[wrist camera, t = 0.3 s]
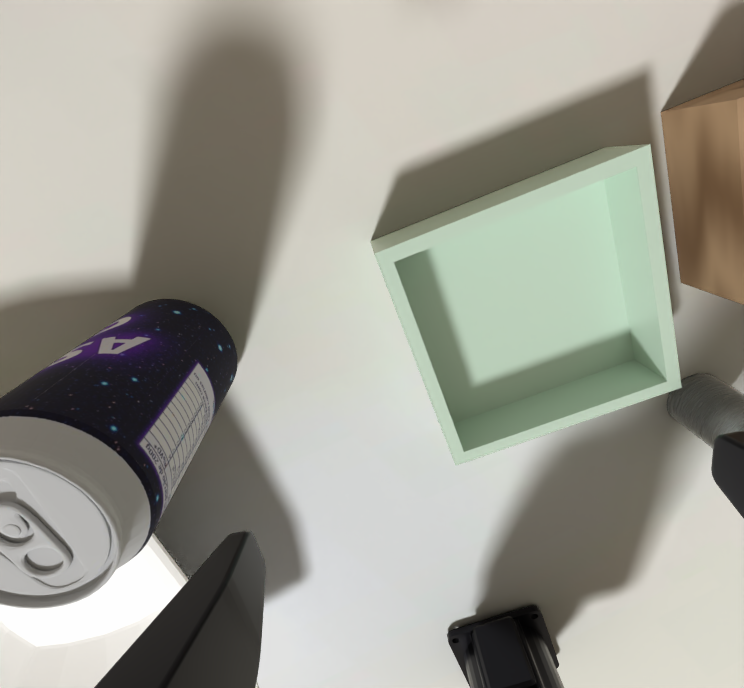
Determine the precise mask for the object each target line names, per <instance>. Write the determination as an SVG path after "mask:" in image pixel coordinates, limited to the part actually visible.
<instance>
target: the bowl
mask: <svg viewBox="0 0 744 688" xmlns="http://www.w3.org/2000/svg"><path fill="white" fill-rule="evenodd" d="M187 582H188V578H187V577H186V576H185V574H184V573H183V572H182V570H181V569H180V568H179V567H178V565H177V564H176V563H175V561H174V560H173V559H172V557H171V556H170V555H169V553H168V552H167V551H166V549H165V548H164V547H163V545H162V544H161V543H160V541H159V540H158V539H157V537H156V536H155V535H154V533H153V534H152V535H151V537H150V539H149V541H148V543H147V544H146V545H145V547H144V548H143V549H142V550H141V551H140V552H139V553H138V554H137V555H136V556H135V557H134V558H133V559H131V560H130V561H129V562H127V563H126V564H124V565H123V566H121V567H120V568H118V569H117V570H115V572H114V574H113V575H112V577H111V578H110V579H109V580H108V582H107V583H106V584H105V585H104V586H102V587H101V588H100V589H99V590H98V591H96V592H95V593H93V594H92V595H90V596H89V597H86V598H84V599H82V600H80V601H78V602H75V603H71V604H68V605H64V606H59V607H52V608H40V609H29V608H16V607H10V606H4V605H0V688H94V687H95V686H96V685H97V684H98V682H99V681H100V680H101V679H102V678H103V677H104V676H105V675H106V673H107V672H108V671H109V670H110V669H111V668H112V667H113V665H114V664H115V663H116V662H117V661H118V660H119V659H120V658H121V656H122V655H123V654H124V653H125V652H126V651H127V650H128V648H129V647H130V646H131V645H132V644H133V643H134V642H135V641H136V639H137V638H138V637H139V636H140V635H141V634H142V633H143V631H144V630H145V629H146V628H147V627H148V626H149V625H150V624H151V622H152V621H153V620H154V619H155V618H156V617H157V616H158V614H159V613H160V612H161V611H162V610H163V609H164V608H165V607H166V605H167V604H168V603H169V602H170V601H171V600H172V599H173V597H174V596H175V595H176V594H177V593H178V592H179V591H180V590H181V588H182V587H183V586H184V585H185V584H186V583H187ZM255 688H259V687H258V683H257V681H256V687H255Z"/></svg>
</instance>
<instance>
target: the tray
mask: <svg viewBox="0 0 744 688" xmlns="http://www.w3.org/2000/svg"><path fill="white" fill-rule="evenodd" d="M371 244H372V248H373V251H374V254H375V257H376V259H377V262H378V265H379V267H380V270H381V272H382V275H383V278H384V280H385V283H386V285H387V288H388V291H389V293H390V296H391V298H392V301H393V304H394V306H395V309H396V311H397V314H398V317H399V319H400V322H401V324H402V327H403V330H404V332H405V335H406V337H407V340H408V343H409V345H410V348H411V350H412V353H413V356H414V358H415V361H416V364H417V366H418V369H419V371H420V374H421V377H422V379H423V382H424V384H425V387H426V390H427V392H428V395H429V397H430V400H431V403H432V405H433V408H434V410H435V413H436V416H437V418H438V421H439V423H440V426H441V429H442V431H443V434H444V436H445V439H446V442H447V444H448V447H449V449H450V452H451V455H452V457H453V460H454V462H455V465H459V464H462V463H465V462H468V461H471V460H474V459H477V458H480V457H482V456H485V455H488V454H491V453H494V452H497V451H500V450H503V449H506V448H509V447H511V446H514V445H517V444H520V443H523V442H526V441H529V440H532V439H535V438H538V437H540V436H543V435H546V434H549V433H552V432H555V431H558V430H561V429H564V428H566V427H569V426H572V425H575V424H578V423H581V422H584V421H587V420H590V419H593V418H595V417H598V416H601V415H604V414H607V413H610V412H613V411H616V410H619V409H622V408H624V407H627V406H630V405H633V404H636V403H639V402H642V401H645V400H648V399H650V398H653V397H656V396H659V395H662V394H665V393H668V392H671V391H674V390H677V389H679V388H682V386H681V378H680V370H679V362H678V355H677V347H676V339H675V331H674V324H673V316H672V308H671V300H670V293H669V285H668V277H667V269H666V262H665V254H664V246H663V239H662V231H661V223H660V215H659V208H658V200H657V192H656V184H655V177H654V169H653V161H652V153H651V146H650V144H644V145H630V146H615V147H605V148H602V149H600V150H597V151H595V152H592V153H590V154H587V155H585V156H582V157H580V158H577V159H575V160H572V161H570V162H567V163H565V164H562V165H560V166H557V167H555V168H552V169H550V170H547V171H545V172H542V173H540V174H537V175H535V176H532V177H530V178H527V179H525V180H522V181H520V182H517V183H515V184H512V185H510V186H507V187H505V188H502V189H500V190H497V191H495V192H492V193H490V194H487V195H485V196H482V197H480V198H477V199H475V200H472V201H470V202H467V203H465V204H462V205H460V206H457V207H455V208H452V209H450V210H447V211H445V212H442V213H440V214H437V215H435V216H432V217H430V218H427V219H425V220H422V221H420V222H417V223H415V224H412V225H410V226H407V227H405V228H402V229H400V230H397V231H395V232H392V233H390V234H387V235H385V236H382V237H380V238H377V239H375V240H372V241H371Z"/></svg>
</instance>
